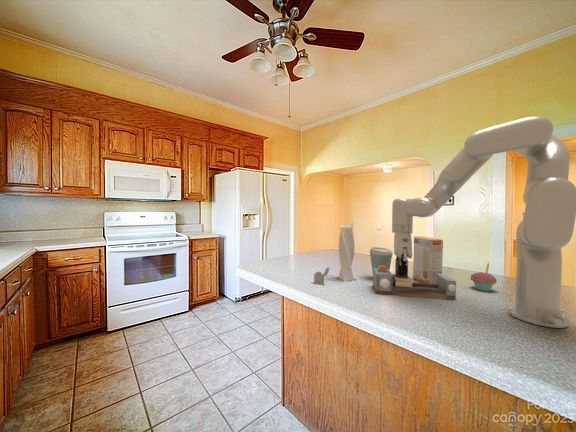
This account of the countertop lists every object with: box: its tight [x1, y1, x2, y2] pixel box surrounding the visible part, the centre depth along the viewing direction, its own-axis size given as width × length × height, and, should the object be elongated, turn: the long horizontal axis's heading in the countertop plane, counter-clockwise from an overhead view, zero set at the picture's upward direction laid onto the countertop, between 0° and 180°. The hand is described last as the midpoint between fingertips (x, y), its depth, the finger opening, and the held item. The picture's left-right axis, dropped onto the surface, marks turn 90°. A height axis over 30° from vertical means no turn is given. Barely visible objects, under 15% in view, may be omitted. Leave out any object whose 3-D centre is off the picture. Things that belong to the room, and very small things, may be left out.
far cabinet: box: [372, 268, 394, 296], centre depth 98 cm, size 11×6×8 cm, turn 168°
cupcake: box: [470, 261, 497, 292], centre depth 100 cm, size 9×8×12 cm
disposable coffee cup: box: [369, 246, 394, 272], centre depth 115 cm, size 11×11×15 cm
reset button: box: [378, 265, 387, 272], centre depth 99 cm, size 3×3×4 cm
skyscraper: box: [336, 222, 358, 282], centre depth 114 cm, size 8×8×28 cm
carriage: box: [392, 258, 413, 287], centre depth 97 cm, size 8×6×10 cm
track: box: [372, 281, 457, 301], centre depth 96 cm, size 10×28×3 cm, turn 78°
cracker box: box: [412, 236, 444, 284], centre depth 109 cm, size 14×6×21 cm, turn 179°
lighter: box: [313, 266, 331, 286], centre depth 107 cm, size 7×2×8 cm, turn 67°
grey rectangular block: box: [436, 273, 457, 301], centre depth 93 cm, size 11×3×7 cm, turn 168°
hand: (401, 273), depth 97 cm, fingers closed on carriage, 3 cm apart
